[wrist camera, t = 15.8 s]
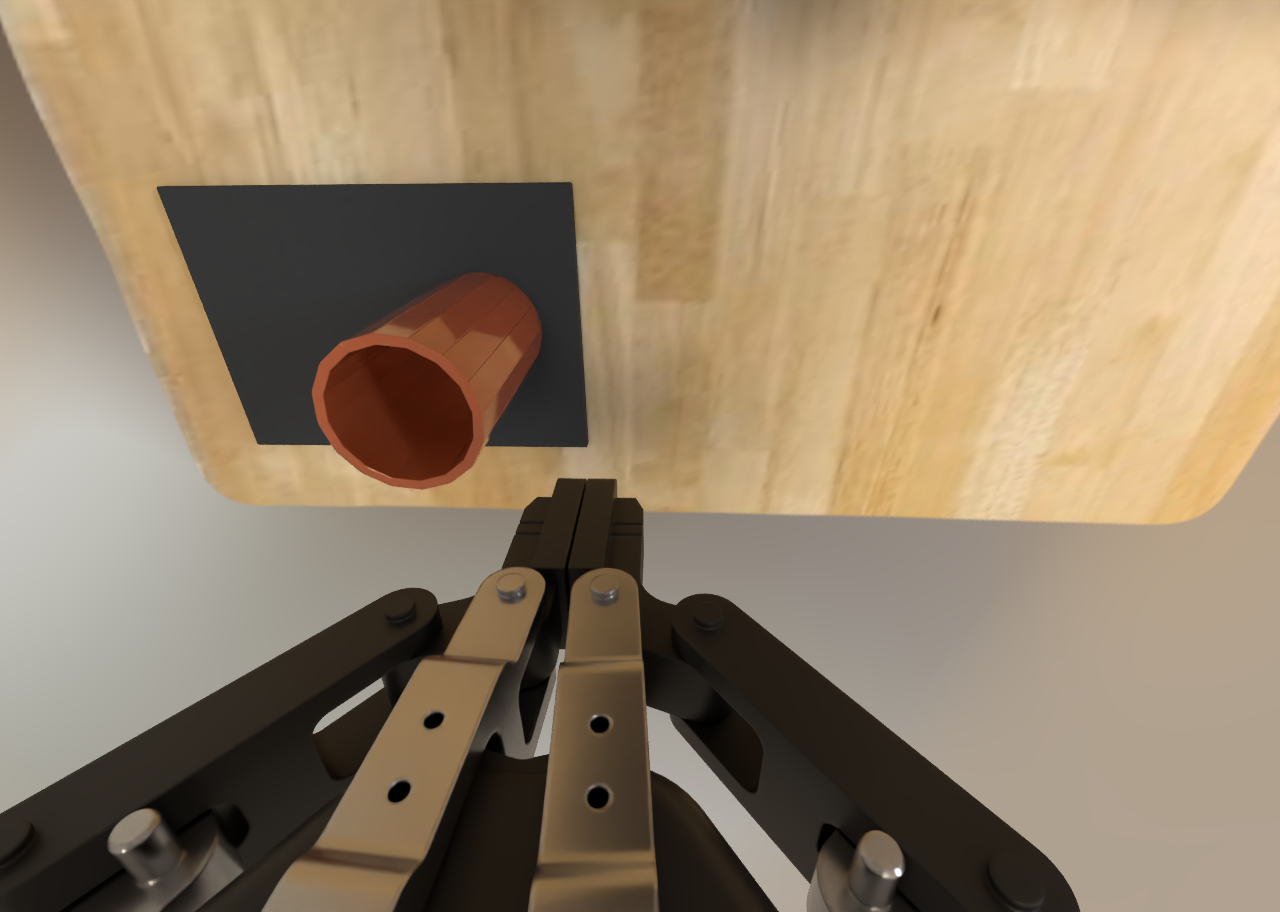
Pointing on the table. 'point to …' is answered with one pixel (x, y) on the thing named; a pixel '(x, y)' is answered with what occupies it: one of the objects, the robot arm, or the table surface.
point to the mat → (376, 285)
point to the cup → (428, 381)
